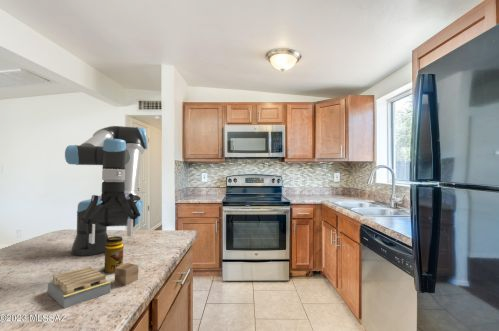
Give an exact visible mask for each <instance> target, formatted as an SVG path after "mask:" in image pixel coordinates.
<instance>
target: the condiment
mask: <svg viewBox="0 0 499 331" xmlns="http://www.w3.org/2000/svg"><path fill="white" fill-rule="evenodd" d="M106 241H107V243H106V246H105V252H104V266H101V267H100V269H99V270H97V271H98V272H100V273H102V274H104V275H115V268H116V267H118V266H121V265H123V264H124V244H123V237H122V236H115V235H114V236H108V238H107V240H106Z"/></svg>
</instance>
